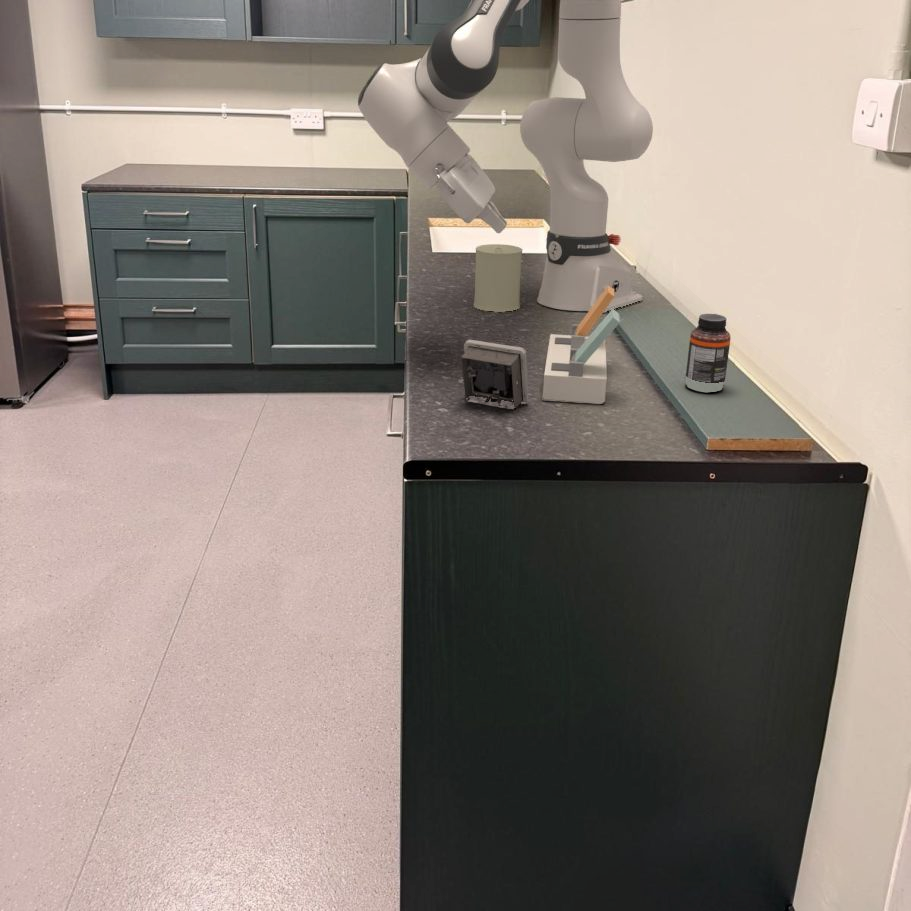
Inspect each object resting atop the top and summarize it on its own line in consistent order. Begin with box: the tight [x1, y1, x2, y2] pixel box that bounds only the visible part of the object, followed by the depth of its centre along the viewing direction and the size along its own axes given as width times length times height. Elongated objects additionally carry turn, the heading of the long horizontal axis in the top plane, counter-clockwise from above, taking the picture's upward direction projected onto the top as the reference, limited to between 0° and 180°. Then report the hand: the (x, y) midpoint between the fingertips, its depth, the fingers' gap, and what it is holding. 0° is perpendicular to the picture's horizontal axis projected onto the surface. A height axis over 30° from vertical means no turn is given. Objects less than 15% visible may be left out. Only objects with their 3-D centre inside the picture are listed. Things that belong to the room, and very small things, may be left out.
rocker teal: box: [572, 309, 621, 365], centre depth 141 cm, size 1×5×10 cm
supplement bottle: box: [685, 313, 731, 383], centre depth 147 cm, size 6×6×11 cm
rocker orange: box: [574, 286, 615, 338], centre depth 154 cm, size 1×5×10 cm
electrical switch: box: [460, 339, 530, 408], centre depth 138 cm, size 9×5×9 cm, turn 65°
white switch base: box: [542, 323, 608, 402], centre depth 153 cm, size 9×28×6 cm, turn 172°
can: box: [473, 243, 523, 313], centre depth 190 cm, size 9×9×12 cm
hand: (503, 229), depth 151 cm, fingers closed
